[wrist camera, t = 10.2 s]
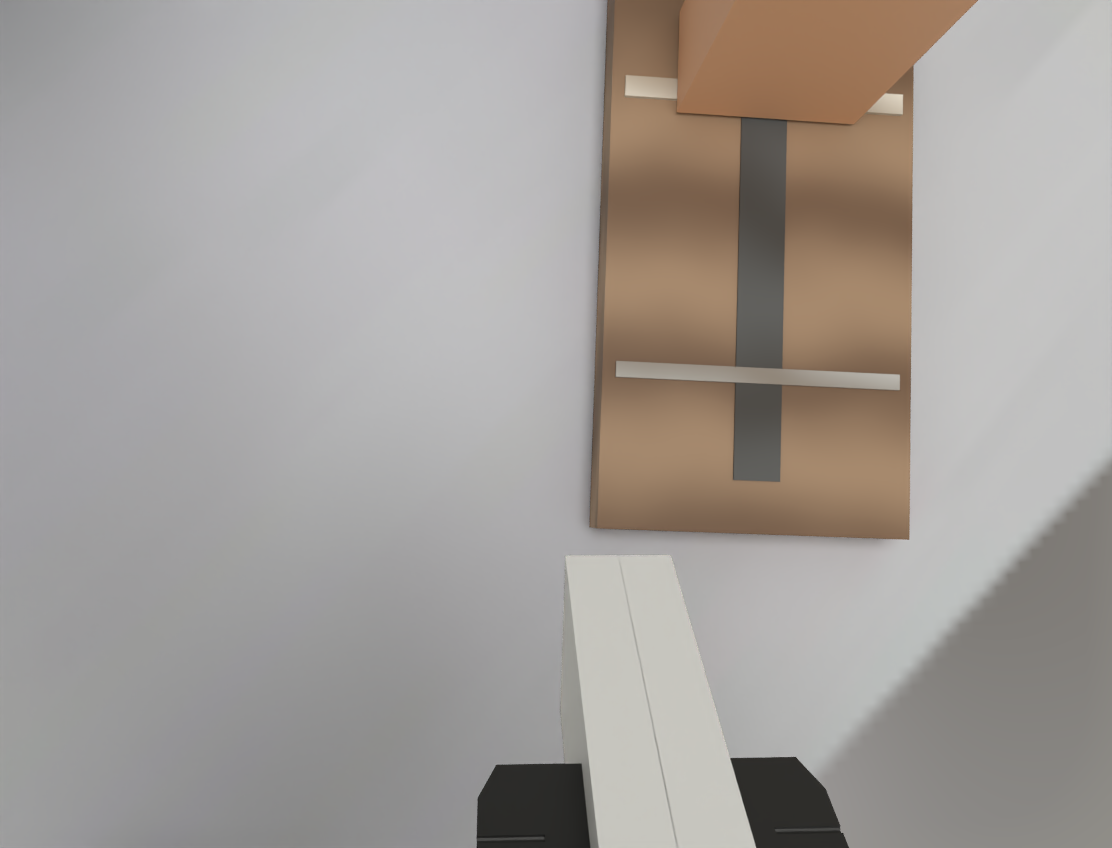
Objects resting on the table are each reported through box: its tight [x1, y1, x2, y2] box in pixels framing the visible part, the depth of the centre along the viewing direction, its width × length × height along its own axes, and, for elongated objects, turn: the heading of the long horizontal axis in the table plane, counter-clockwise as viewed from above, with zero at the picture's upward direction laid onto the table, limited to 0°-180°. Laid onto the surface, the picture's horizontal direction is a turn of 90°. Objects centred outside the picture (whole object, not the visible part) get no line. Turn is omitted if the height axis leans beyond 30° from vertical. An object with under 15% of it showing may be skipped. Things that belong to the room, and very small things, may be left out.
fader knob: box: [677, 0, 978, 124], centre depth 36 cm, size 4×7×10 cm, turn 88°
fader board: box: [589, 0, 913, 540], centre depth 41 cm, size 24×12×3 cm, turn 178°
